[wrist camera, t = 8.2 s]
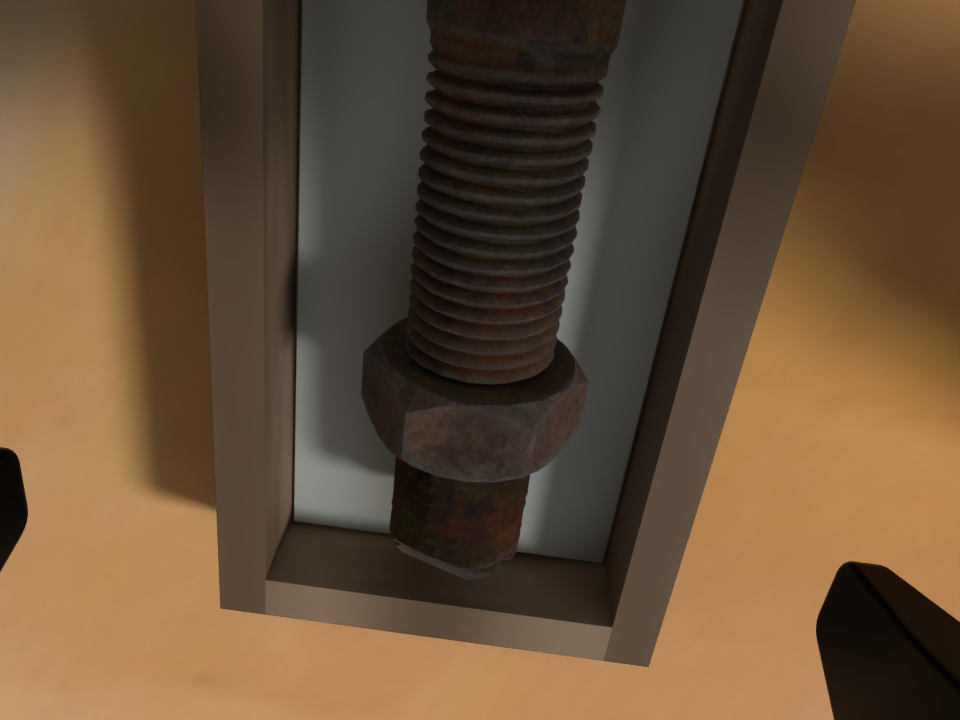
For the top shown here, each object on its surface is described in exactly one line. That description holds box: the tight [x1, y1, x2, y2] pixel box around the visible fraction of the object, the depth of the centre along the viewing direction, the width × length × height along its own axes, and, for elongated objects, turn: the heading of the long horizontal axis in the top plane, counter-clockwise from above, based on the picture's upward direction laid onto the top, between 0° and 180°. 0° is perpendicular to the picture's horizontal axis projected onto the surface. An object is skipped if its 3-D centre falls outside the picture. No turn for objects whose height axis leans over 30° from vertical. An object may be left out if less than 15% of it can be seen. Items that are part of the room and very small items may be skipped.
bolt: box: [361, 0, 627, 580], centre depth 16 cm, size 6×5×15 cm
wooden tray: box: [196, 0, 856, 667], centre depth 17 cm, size 11×20×4 cm, turn 173°
